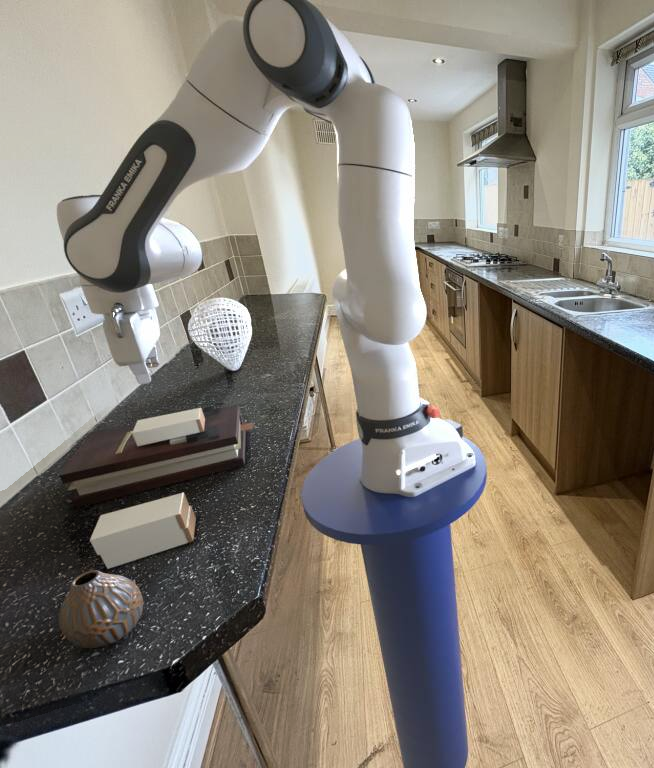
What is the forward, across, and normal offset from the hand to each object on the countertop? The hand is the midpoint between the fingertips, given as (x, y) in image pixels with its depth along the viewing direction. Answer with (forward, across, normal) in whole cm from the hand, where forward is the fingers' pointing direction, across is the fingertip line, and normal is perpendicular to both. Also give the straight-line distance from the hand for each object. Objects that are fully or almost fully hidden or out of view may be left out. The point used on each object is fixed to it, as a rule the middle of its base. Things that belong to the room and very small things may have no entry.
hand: (150, 374), depth 75 cm
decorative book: (+20, +2, +2) cm, 20 cm away
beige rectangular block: (+20, -24, +2) cm, 31 cm away
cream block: (+12, 0, 0) cm, 12 cm away
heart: (+20, +58, -9) cm, 62 cm away
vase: (+20, -40, +4) cm, 45 cm away
